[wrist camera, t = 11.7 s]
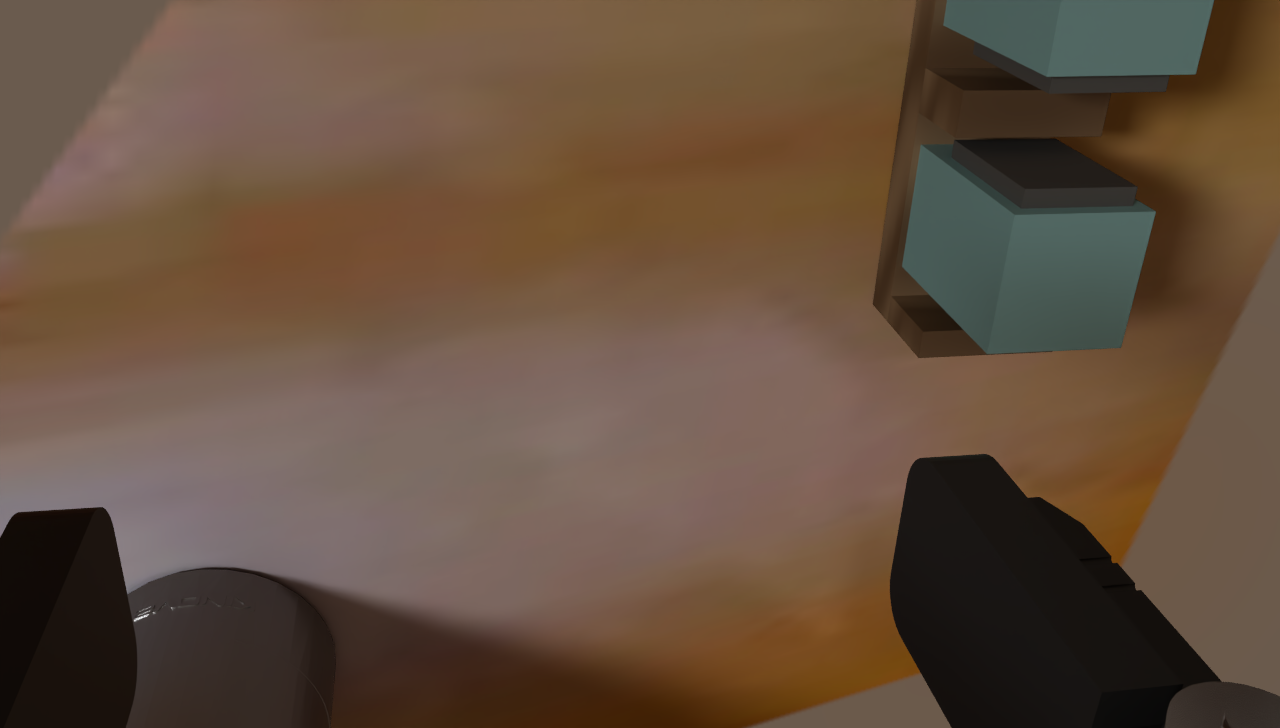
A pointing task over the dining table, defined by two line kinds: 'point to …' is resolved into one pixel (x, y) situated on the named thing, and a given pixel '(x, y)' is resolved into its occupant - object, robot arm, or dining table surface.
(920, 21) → the rail
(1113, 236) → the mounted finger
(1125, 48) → the teal block
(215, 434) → the dining table surface
